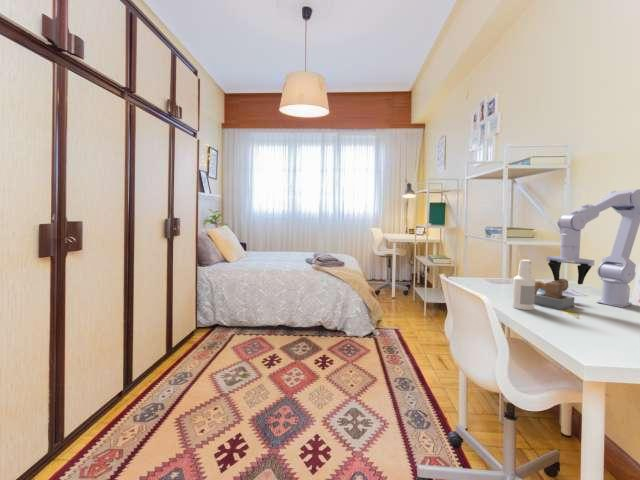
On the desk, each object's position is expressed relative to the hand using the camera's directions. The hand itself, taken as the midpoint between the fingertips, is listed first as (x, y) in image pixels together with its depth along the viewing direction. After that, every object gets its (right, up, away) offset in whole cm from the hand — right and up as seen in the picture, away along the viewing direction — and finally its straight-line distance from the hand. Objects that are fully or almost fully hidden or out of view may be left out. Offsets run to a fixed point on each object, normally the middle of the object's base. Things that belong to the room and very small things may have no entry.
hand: (568, 282), depth 121 cm
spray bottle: (-18, -10, -1) cm, 20 cm away
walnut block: (-4, -9, +2) cm, 10 cm away
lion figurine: (+1, -9, +13) cm, 16 cm away
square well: (-4, -9, +2) cm, 10 cm away
